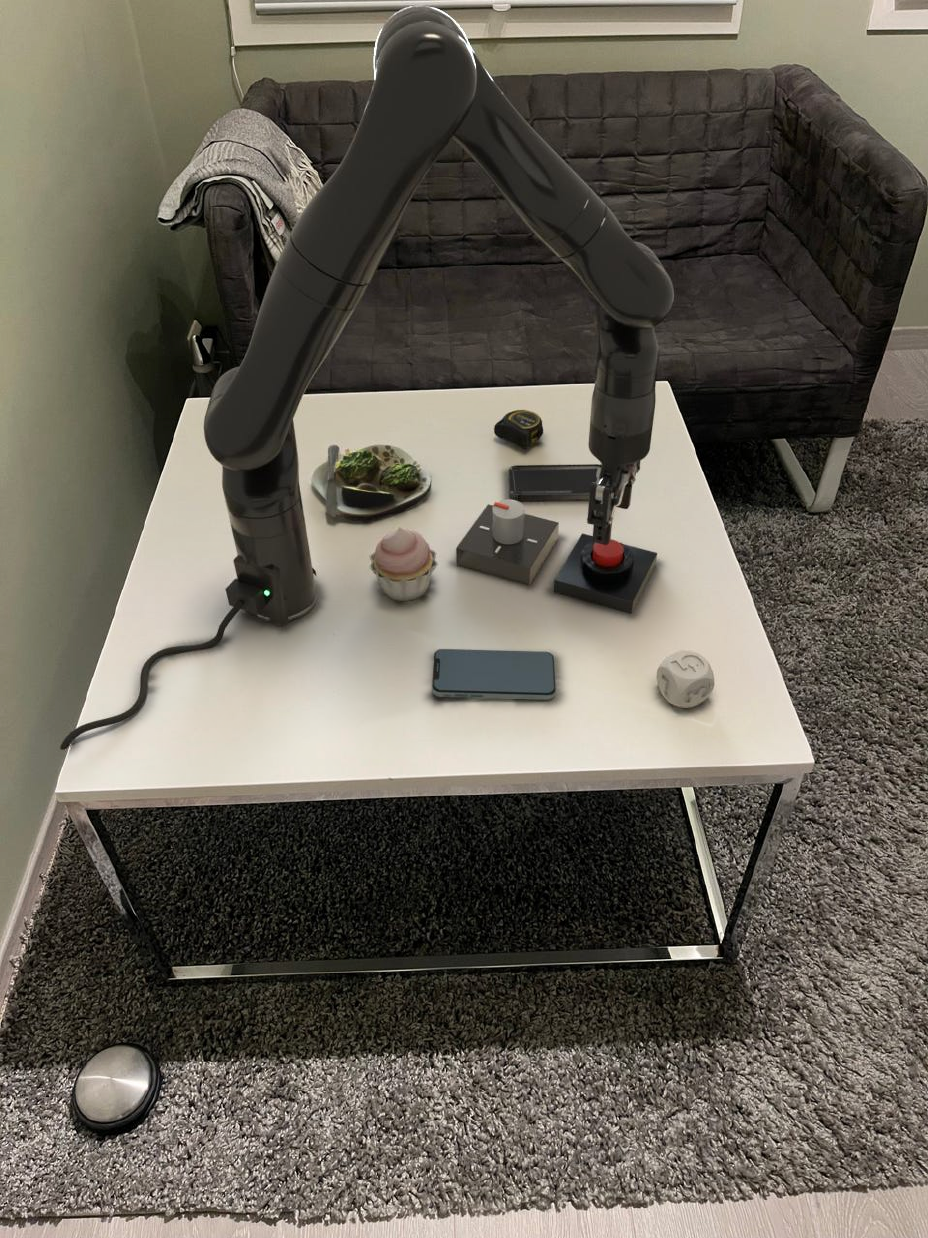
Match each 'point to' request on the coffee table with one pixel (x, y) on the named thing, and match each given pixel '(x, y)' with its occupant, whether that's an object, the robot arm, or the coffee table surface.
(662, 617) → the coffee table surface
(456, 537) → the coffee table surface
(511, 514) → the hob knob
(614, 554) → the button
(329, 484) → the salad plate
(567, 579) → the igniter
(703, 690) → the die
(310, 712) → the coffee table surface
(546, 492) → the phone
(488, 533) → the hob panel
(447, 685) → the smartphone
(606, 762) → the coffee table surface
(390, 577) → the cupcake
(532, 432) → the tape measure
